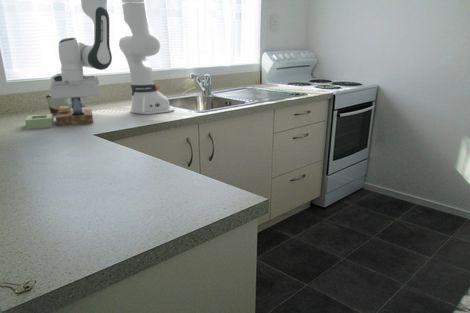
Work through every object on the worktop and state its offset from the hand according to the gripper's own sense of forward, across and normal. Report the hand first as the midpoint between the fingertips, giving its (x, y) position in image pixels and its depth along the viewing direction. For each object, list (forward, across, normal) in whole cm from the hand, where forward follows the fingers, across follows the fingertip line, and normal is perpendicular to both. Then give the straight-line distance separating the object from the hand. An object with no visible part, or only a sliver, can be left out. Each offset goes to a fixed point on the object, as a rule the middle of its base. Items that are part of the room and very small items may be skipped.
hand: (77, 107), depth 169 cm
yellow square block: (+6, +5, -7) cm, 11 cm away
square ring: (+7, +16, 0) cm, 18 cm away
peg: (+7, 0, 0) cm, 7 cm away
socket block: (+7, +2, -3) cm, 8 cm away
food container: (+7, +8, -28) cm, 30 cm away
